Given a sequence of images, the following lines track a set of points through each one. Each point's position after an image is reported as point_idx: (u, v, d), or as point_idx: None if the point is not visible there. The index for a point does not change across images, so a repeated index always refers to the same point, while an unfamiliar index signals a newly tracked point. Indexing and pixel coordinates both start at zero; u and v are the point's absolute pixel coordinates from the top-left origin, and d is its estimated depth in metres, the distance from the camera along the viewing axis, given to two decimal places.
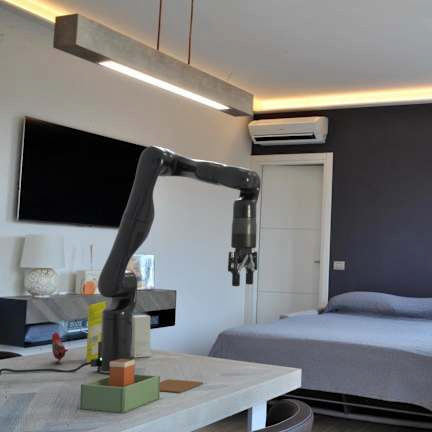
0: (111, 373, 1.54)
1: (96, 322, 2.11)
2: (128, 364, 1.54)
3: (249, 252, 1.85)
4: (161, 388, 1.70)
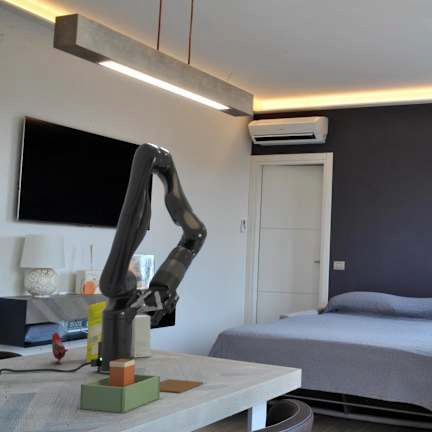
0: (111, 373, 1.54)
1: (96, 322, 2.11)
2: (128, 364, 1.54)
3: (161, 291, 1.70)
4: (161, 388, 1.70)
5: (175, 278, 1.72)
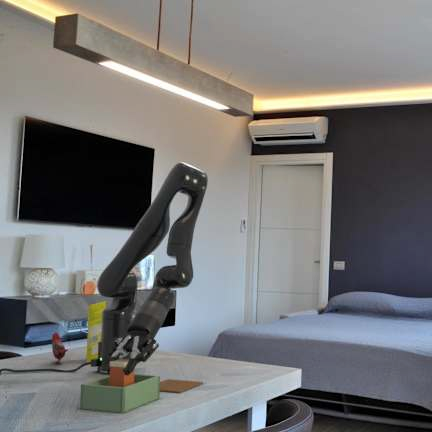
0: (111, 373, 1.54)
1: (96, 322, 2.11)
2: None
3: (141, 336, 1.60)
4: (161, 388, 1.70)
5: (156, 321, 1.63)
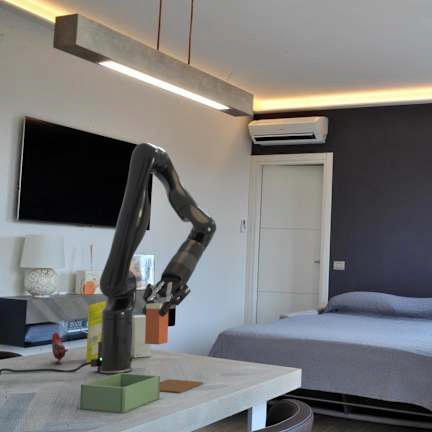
0: (147, 315, 1.66)
1: (96, 322, 2.11)
2: None
3: (174, 282, 1.72)
4: (161, 388, 1.70)
5: (187, 269, 1.75)
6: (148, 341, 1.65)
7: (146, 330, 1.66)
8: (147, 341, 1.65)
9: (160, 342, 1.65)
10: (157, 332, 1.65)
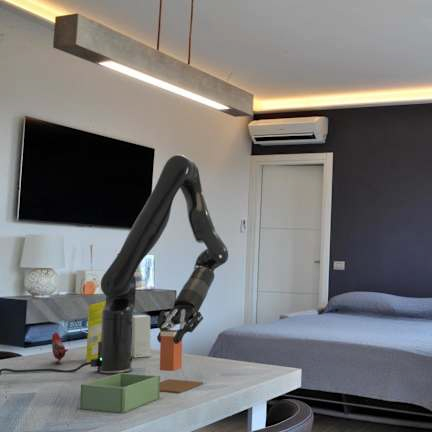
0: (162, 342, 1.71)
1: (96, 322, 2.11)
2: None
3: (187, 309, 1.77)
4: (161, 388, 1.70)
5: (199, 296, 1.80)
6: (163, 367, 1.70)
7: (161, 357, 1.71)
8: (162, 368, 1.70)
9: (175, 369, 1.70)
10: (171, 359, 1.70)
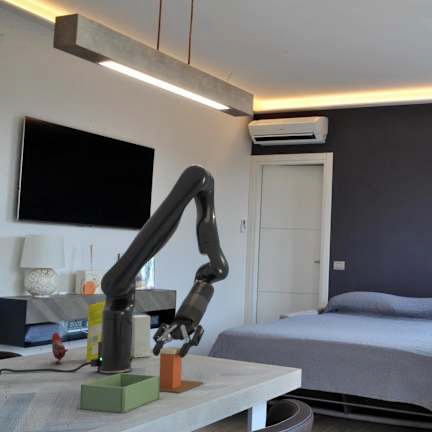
0: (161, 359, 1.71)
1: (96, 322, 2.11)
2: (177, 351, 1.71)
3: (186, 325, 1.77)
4: (161, 388, 1.70)
5: (199, 312, 1.80)
6: (162, 385, 1.70)
7: (160, 374, 1.70)
8: (161, 385, 1.70)
9: (174, 386, 1.70)
10: (171, 377, 1.70)
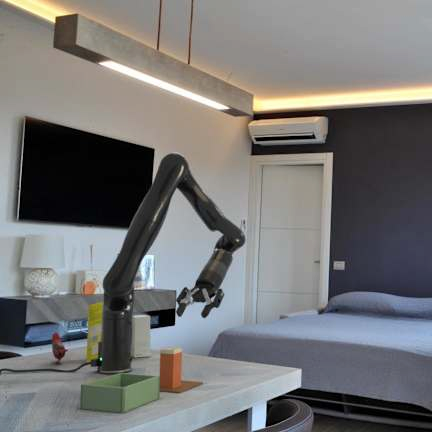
0: (161, 359, 1.71)
1: (96, 322, 2.11)
2: (177, 351, 1.71)
3: (207, 288, 1.88)
4: (161, 388, 1.70)
5: (219, 277, 1.91)
6: (162, 385, 1.70)
7: (160, 374, 1.70)
8: (161, 385, 1.70)
9: (174, 386, 1.70)
10: (171, 377, 1.70)
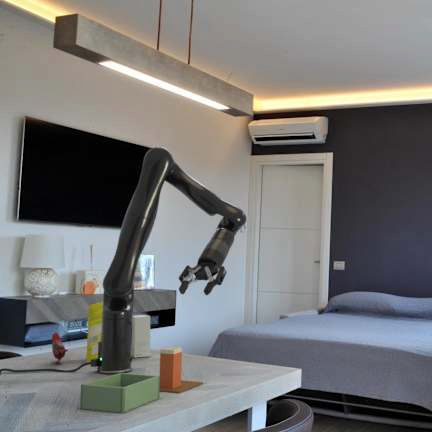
0: (161, 359, 1.71)
1: (96, 322, 2.11)
2: (177, 351, 1.71)
3: (210, 266, 1.89)
4: (161, 388, 1.70)
5: (221, 255, 1.93)
6: (162, 385, 1.70)
7: (160, 374, 1.70)
8: (161, 385, 1.70)
9: (174, 386, 1.70)
10: (171, 377, 1.70)
